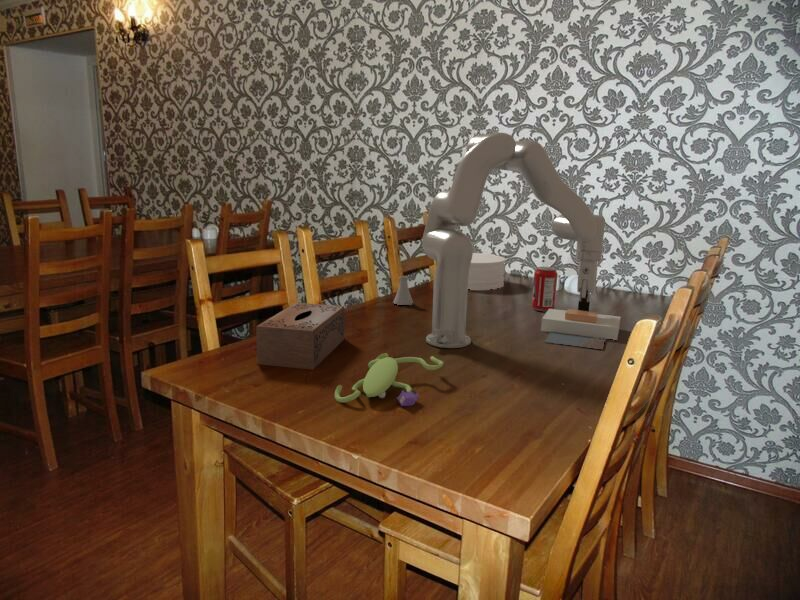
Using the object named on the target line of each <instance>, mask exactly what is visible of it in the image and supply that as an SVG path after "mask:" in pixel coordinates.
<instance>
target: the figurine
mask: <svg viewBox="0 0 800 600" xmlns="http://www.w3.org/2000/svg"><path fill="white" fill-rule="evenodd" d="M430 361H431V362H433V363H434V364H435V365H432V364H428V362H426V361H425V360H424V359H423V358H421V357H415V356H414V357H413V356H404V357H397V358H393V357H390V356H389V353H386V352H385V353H381V354H379V355H378V356H377V357H376V358H375V359H372V360H370V361H369V362H368V364H367V366H368V369H369V370H368V371H367V373H366V374H365V377H364V378H362V379H359V380H358V381H357V382H356V383H355V384H354V385H353V386H352V387H351V390H352V391H354V392H353V393H352V394H349V395H347V396H341V395H340V394H341V391H342V389H343V386H342V385H341V384H338V385H337V386H336V388H335V391H334V399H335V401H336V402H338V403H343V404H344V403H348V402H352V401H353V400H356V399H357V398H359V396H361V394H362V393H361V391H360V390H358V389H360V387H361V386H362V388H363V393H365V395H366V396H367V397H368V398H375V397H377V396H378V398H380V399H385V397H386V396H387V395H386V394H387V393H386V391H388V390H389V388H390V387H391V386H393V387H395V388H400V389H401V388H402V389H401V392H400V393H399V396H397V397H396V399H397V401H398V402H399V404H400V405H401V407H410V406H414V405H415V403H416V402H417V400H418V399H419V397H420V395H419V393H417V391H416V390H415V389H412V387H411V385H410V384H407V383H403V382H399V381H396V377H397V374H398V373H399V372H398V371H399V370H398V369H399V365H398V364H401V363H402V364H403V363H417V364H418V363H419V364H420V365H422V367H423V368H424V369H425V370H428V371H435V370H438V369H441V368H442V367H443V366H444V361H443V360H440V359H438V358H436V357H435V356H434V355H433V356H430Z"/></svg>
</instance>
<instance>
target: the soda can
mask: <svg viewBox="0 0 800 600" xmlns="http://www.w3.org/2000/svg"><path fill="white" fill-rule="evenodd" d="M533 274H534V275H533V286H532V287H533V288H532V298H531V299H532V300H531V307H532V309H534V310H535V311H538V312H544V313H546V312H547V311H548V309H555V307H556V305H555V304H556V298H557V297H556V295H557V285H558V284H557V283H558V272H557V268H555V267H550V266H537V267H536V270H535V271H534V273H533Z"/></svg>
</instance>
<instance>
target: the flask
mask: <svg viewBox="0 0 800 600" xmlns="http://www.w3.org/2000/svg"><path fill="white" fill-rule="evenodd" d="M398 279H399V285H398V288H397V292H396V294H395V296H394V299H393V302H392V304H393V303H394V304H397V305H396V306H398V305H409V306H413V304H414V300H413V298H412V295H411V292H410V289H409V283H408V279H409V276H406V275H404V276H399V277H398ZM412 303H413V304H412ZM394 304H393V305H394Z"/></svg>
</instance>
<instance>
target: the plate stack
mask: <svg viewBox="0 0 800 600" xmlns="http://www.w3.org/2000/svg"><path fill="white" fill-rule="evenodd" d="M505 263H506V258H505V257H504V256H501V255H498V254H497V255H496V254H491V253H481V252H473V255H472V260H471V264H470V269H469V277H468V289H470V290H469V291H491V290H490V289H493V290H498V289H497V288H499V289H501V287H502V288H503V287H504V286H505V276H504V275H505V274H506V272H505V271H506V270H505V268H506V264H505Z"/></svg>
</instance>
